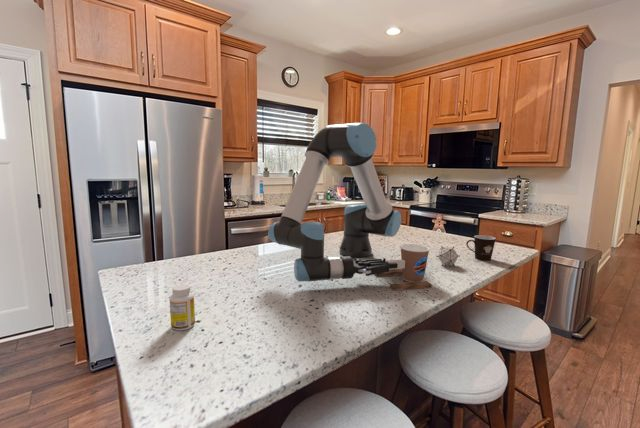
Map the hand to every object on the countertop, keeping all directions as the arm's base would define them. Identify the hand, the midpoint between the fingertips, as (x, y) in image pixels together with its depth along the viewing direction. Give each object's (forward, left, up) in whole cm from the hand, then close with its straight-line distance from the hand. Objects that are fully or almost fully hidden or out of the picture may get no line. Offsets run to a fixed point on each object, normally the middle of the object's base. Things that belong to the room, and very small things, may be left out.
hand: (404, 263), depth 114 cm
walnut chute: (-1, +1, -7) cm, 7 cm away
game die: (+17, +26, -7) cm, 32 cm away
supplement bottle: (-52, -51, -7) cm, 73 cm away
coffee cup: (+3, +3, -7) cm, 8 cm away
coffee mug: (+32, +42, -7) cm, 53 cm away
